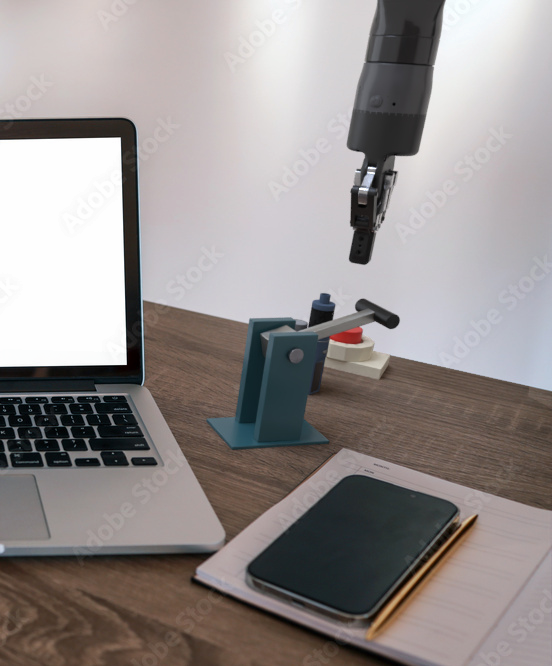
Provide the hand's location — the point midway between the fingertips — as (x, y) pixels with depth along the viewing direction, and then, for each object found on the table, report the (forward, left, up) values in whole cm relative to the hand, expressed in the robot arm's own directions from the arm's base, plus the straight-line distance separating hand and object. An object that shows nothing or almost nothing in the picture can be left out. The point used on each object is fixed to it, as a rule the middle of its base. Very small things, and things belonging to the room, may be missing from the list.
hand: (359, 262), depth 90 cm
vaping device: (+9, +6, -14) cm, 18 cm away
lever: (+14, +16, -3) cm, 21 cm away
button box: (0, 0, -13) cm, 13 cm away
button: (0, 0, -10) cm, 10 cm away
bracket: (+18, +16, -13) cm, 28 cm away
